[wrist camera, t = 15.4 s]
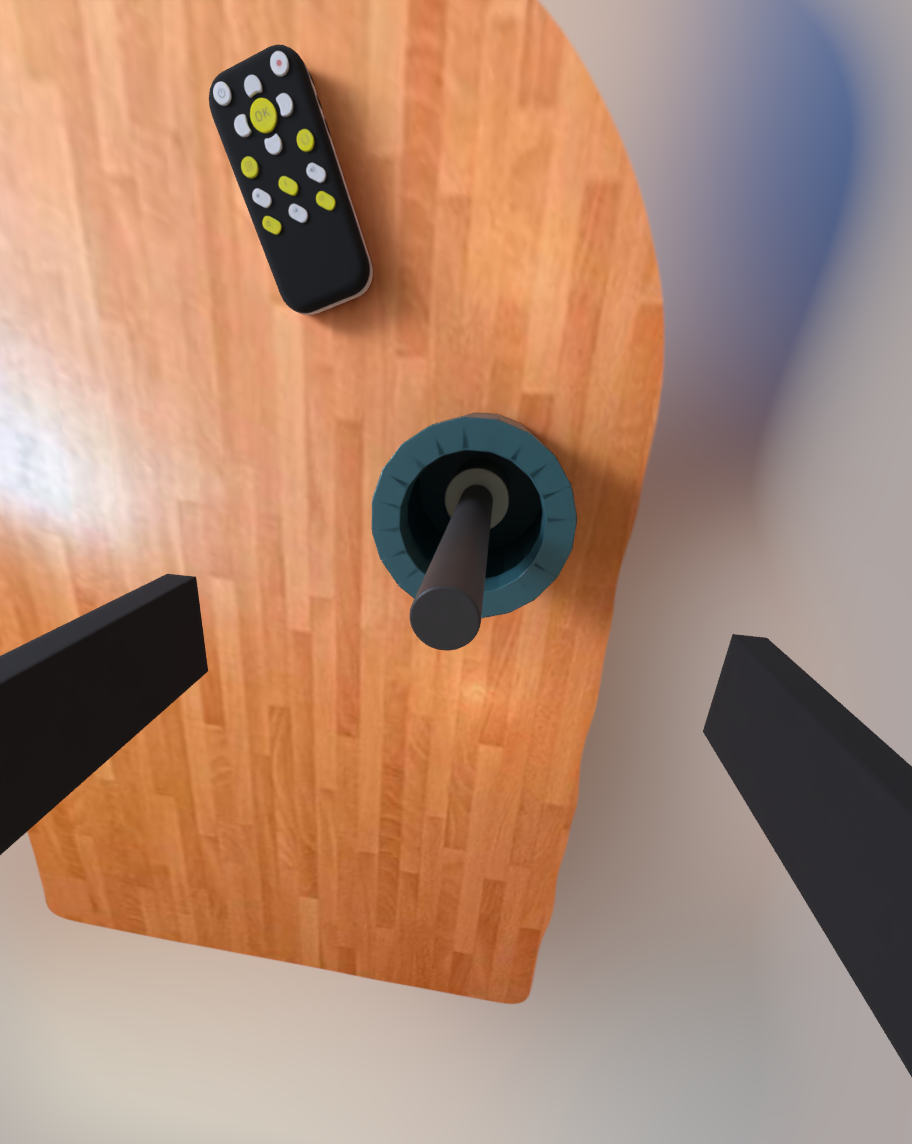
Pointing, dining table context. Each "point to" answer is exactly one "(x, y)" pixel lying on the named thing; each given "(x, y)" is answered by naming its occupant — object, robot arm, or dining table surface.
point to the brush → (461, 558)
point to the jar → (516, 545)
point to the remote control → (291, 179)
